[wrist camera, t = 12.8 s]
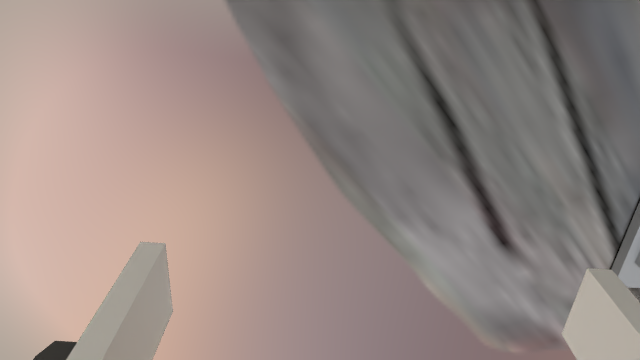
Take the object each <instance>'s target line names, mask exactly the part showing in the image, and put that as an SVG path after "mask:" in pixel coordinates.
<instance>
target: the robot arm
mask: <svg viewBox="0 0 640 360" xmlns="http://www.w3.org/2000/svg"><path fill="white" fill-rule="evenodd" d="M172 312H173V309H172V299H171V290H170V281H169V272H168V263H167V254H166V245H165V243H149V242H140V244H139V245H138V247H137V248H136V250H135V252H134V253H133V255H132V256H131V258H130V260H129V261H128V263H127V264H126V266H125V267H124V269H123V271H122V272H121V274H120V275H119V277H118V279H117V280H116V282H115V283H114V285H113V286H112V288H111V290H110V291H109V293H108V295H107V296H106V297H105V299H104V301H103V302H102V304H101V306H100V307H99V309H98V310H97V312H96V313H95V315H94V317H93V318H92V320H91V321H90V323H89V324H88V326H87V328H86V329H85V331H84V332H83V334H82V336H81V337H80V339H79V340H78V342H65V341H54V342H53V343H52V344H50V345H49V346H48V347H47V348H45V349H44V350H43V351H42V352H40V353H39V354H38V355H37V356H35V358H34V359H33V360H152V359H153V357H154V355H155V352H156V350H157V348H158V345H159V343H160V340H161V338H162V336H163V334H164V331H165V329H166V326H167V324H168V322H169V319H170V317H171V315H172ZM562 335H563V337H564V339H565V340H566V342H567V344H568V346H569V347H570V349H571V351H572V352H573V354H574V356H575V357H576V359H577V360H640V302H639V301H638V300H637V299H636V297H635V296H634V295H633V294H632V293H631V292H630V290H629V289H628V288H627V287H626V286H625V285H624V283H623V282H622V281H621V280H620V279H619V278H618V276H617V275H616V274H615V273H614V272H613V271H612V270H608V269H591V268H587V270H586V273H585V276H584V278H583V281H582V283H581V286H580V288H579V291H578V293H577V296H576V299H575V301H574V304H573V306H572V309H571V311H570V314H569V316H568V319H567V322H566V324H565V327H564V329H563V332H562Z"/></svg>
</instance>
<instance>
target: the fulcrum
mask: <svg viewBox="0 0 640 360" xmlns="http://www.w3.org/2000/svg"><path fill="white" fill-rule="evenodd" d="M611 270H612V271H613V272H614V273H615V274H616V275H617V276H618V278H619V279H620V280H621V281H622V282H623V283H624V285H625V286H626V287H631V288H640V202H639V204H638V207H637V209H636V212H635V214H634V216H633V219H632V221H631V223H630V226H629V228H628V231H627V233H626V235H625V238H624V240H623V242H622V245H621V247H620V250H619V252H618V254H617V257H616V259H615V261H614V264H613V266H612V269H611Z"/></svg>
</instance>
